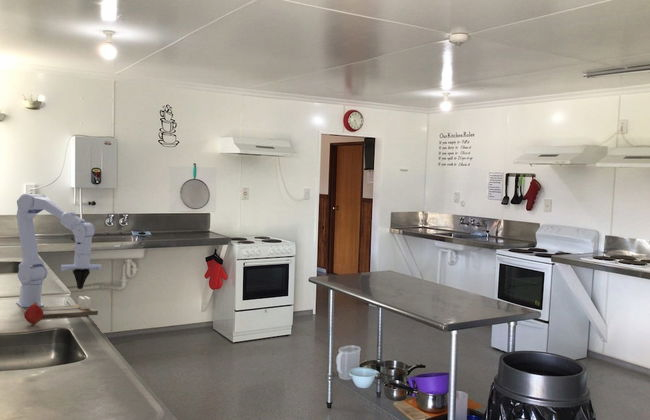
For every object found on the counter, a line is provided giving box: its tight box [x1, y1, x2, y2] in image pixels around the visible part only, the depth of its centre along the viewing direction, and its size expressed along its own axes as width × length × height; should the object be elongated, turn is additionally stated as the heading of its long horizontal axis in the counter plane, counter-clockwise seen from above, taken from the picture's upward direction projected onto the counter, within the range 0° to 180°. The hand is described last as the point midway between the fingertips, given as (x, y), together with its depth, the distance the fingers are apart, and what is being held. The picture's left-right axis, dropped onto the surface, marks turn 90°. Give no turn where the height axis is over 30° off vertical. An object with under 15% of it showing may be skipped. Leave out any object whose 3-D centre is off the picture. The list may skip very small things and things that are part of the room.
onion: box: [23, 302, 43, 326], centre depth 194 cm, size 6×6×8 cm
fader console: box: [40, 304, 99, 320], centre depth 214 cm, size 12×21×2 cm, turn 130°
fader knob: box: [77, 295, 92, 309], centre depth 218 cm, size 5×3×4 cm, turn 40°
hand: (79, 288), depth 217 cm, fingers closed
